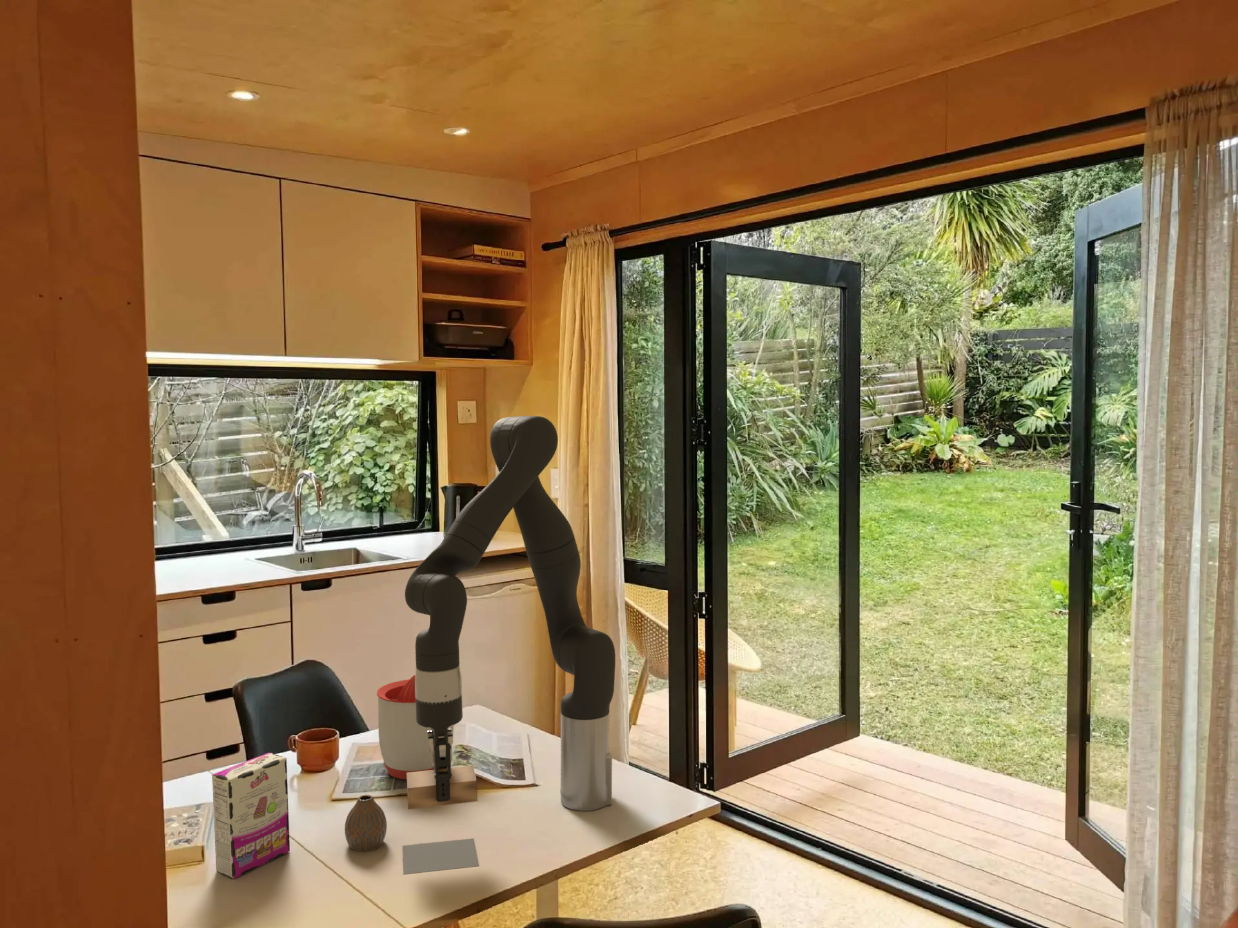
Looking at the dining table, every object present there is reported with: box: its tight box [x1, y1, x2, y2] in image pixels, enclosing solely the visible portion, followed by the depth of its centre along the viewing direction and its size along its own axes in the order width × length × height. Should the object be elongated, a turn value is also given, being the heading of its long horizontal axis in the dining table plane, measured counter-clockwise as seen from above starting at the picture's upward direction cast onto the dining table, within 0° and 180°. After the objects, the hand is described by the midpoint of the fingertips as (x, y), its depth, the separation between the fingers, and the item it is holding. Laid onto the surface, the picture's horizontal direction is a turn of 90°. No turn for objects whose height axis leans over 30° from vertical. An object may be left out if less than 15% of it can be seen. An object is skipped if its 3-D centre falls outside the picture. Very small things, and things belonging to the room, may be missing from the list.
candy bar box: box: [211, 752, 291, 880], centre depth 156 cm, size 11×5×16 cm, turn 148°
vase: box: [344, 794, 388, 852], centre depth 162 cm, size 7×7×9 cm
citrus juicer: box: [376, 674, 455, 780], centre depth 195 cm, size 16×17×20 cm
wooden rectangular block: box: [406, 764, 478, 810], centre depth 157 cm, size 11×6×4 cm, turn 104°
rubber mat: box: [402, 837, 480, 875], centre depth 158 cm, size 12×10×1 cm
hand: (441, 791), depth 157 cm, fingers closed on wooden rectangular block, 6 cm apart
